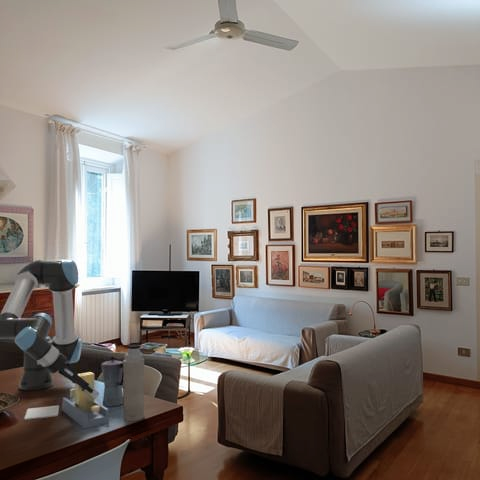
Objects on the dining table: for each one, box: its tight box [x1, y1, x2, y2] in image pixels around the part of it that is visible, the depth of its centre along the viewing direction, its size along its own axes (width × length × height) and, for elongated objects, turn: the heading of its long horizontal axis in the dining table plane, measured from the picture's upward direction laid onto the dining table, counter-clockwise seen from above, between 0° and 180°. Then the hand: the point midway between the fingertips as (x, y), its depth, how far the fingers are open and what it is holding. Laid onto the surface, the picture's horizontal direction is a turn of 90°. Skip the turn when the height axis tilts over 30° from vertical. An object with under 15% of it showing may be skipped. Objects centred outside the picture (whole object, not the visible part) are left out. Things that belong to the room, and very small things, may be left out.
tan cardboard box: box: [74, 371, 95, 412], centre depth 171 cm, size 4×6×14 cm, turn 130°
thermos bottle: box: [122, 344, 145, 422], centre depth 170 cm, size 8×8×28 cm
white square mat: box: [23, 405, 60, 421], centre depth 174 cm, size 12×12×1 cm
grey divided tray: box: [62, 387, 110, 429], centre depth 171 cm, size 25×9×8 cm, turn 40°
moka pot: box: [100, 356, 123, 407], centre depth 185 cm, size 10×15×20 cm, turn 55°
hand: (93, 394), depth 173 cm, fingers open, 5 cm apart
